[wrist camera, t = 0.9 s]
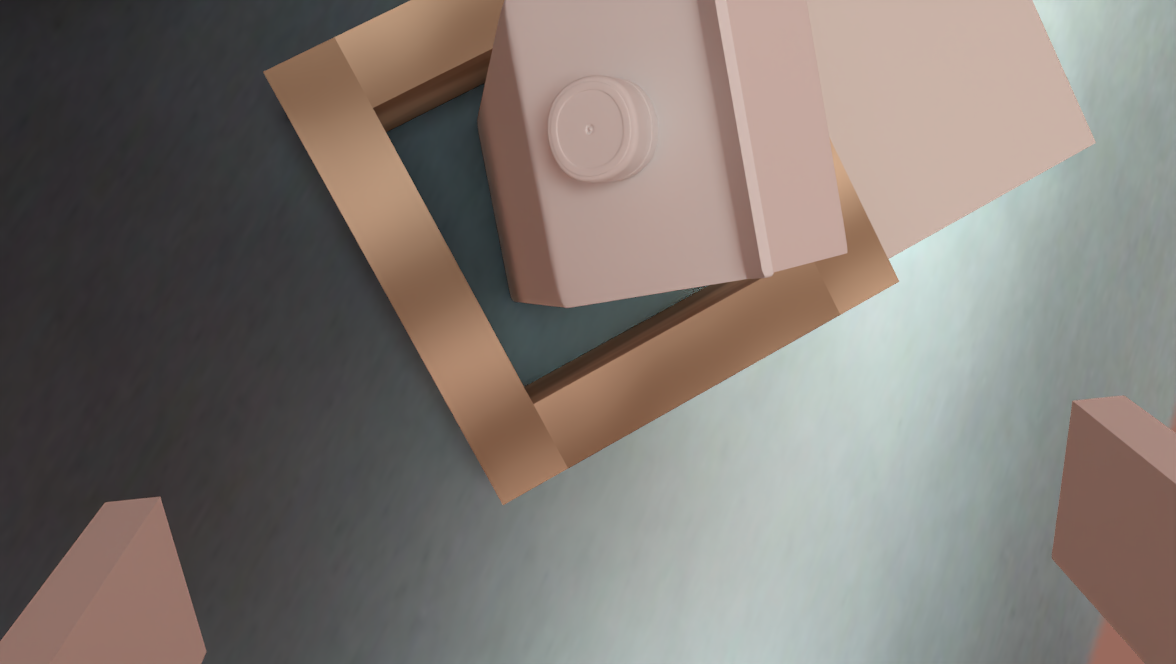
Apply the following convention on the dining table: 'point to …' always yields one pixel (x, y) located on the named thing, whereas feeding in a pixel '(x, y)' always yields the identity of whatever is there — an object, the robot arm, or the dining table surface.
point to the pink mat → (940, 106)
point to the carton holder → (445, 300)
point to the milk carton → (655, 146)
